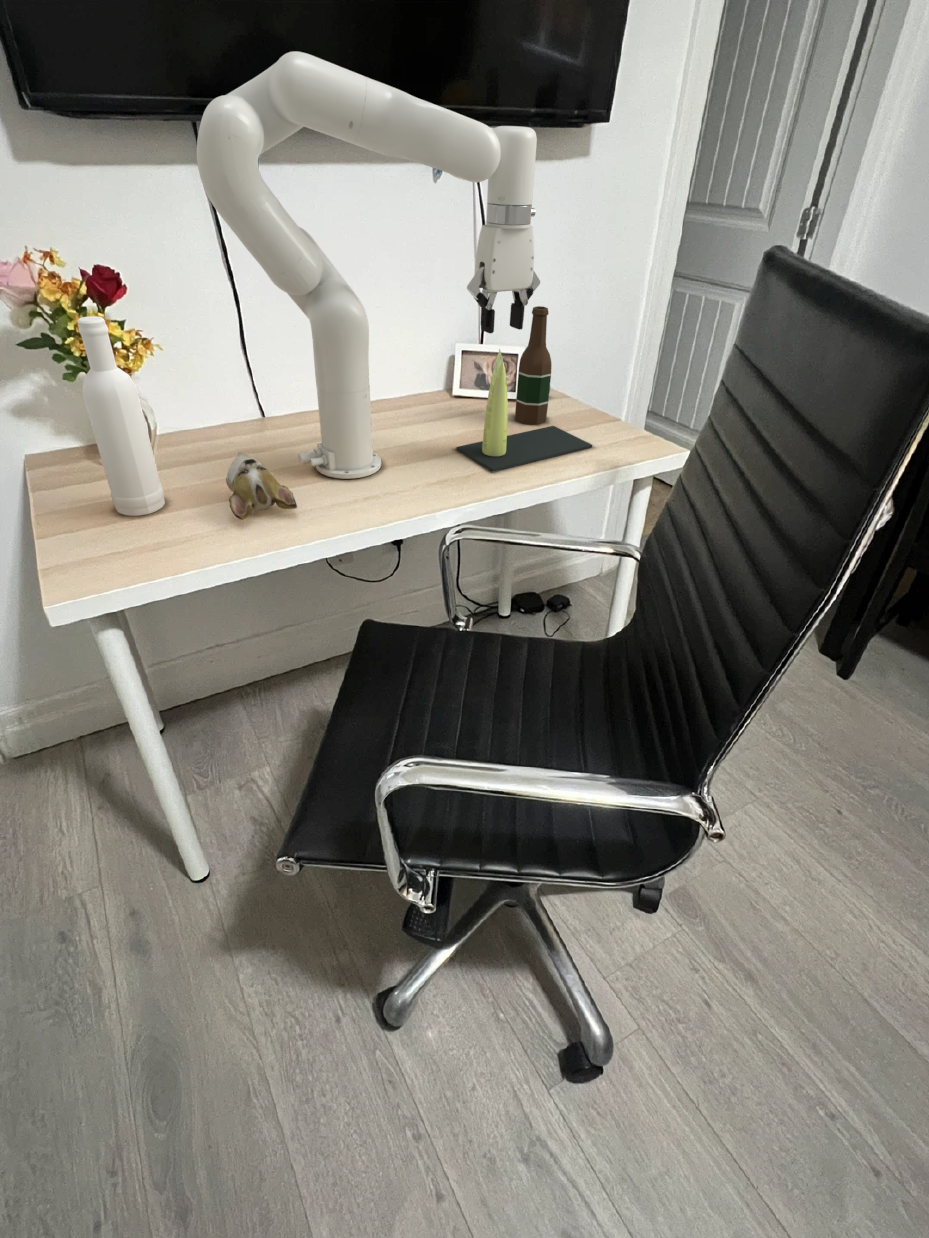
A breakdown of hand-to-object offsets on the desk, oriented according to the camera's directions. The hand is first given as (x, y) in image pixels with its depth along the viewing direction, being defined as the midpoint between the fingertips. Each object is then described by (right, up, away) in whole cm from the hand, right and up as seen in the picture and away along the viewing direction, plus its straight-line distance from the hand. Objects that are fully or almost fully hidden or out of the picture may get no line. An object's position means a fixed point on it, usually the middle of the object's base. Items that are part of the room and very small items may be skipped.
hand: (501, 328), depth 126 cm
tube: (-1, -20, +14) cm, 24 cm away
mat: (+6, -18, +18) cm, 26 cm away
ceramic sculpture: (-42, -34, -7) cm, 55 cm away
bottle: (-62, -34, -9) cm, 71 cm away
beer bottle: (+8, -7, +33) cm, 35 cm away
